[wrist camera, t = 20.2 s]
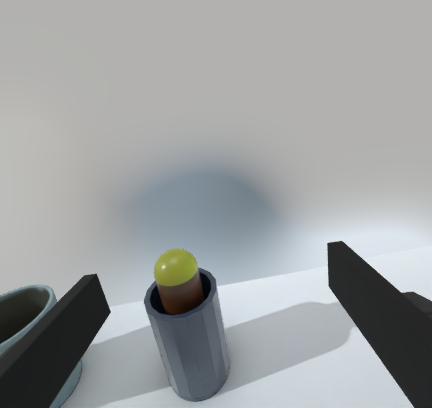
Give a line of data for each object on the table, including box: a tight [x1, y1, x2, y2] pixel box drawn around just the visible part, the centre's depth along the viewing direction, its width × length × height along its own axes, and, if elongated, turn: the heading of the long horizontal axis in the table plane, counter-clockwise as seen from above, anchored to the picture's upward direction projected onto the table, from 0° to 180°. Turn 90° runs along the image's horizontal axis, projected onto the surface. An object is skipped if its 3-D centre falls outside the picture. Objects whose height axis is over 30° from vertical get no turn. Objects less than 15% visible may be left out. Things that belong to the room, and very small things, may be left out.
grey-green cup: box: [0, 285, 82, 408], centre depth 26 cm, size 10×10×12 cm
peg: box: [154, 249, 205, 315], centre depth 25 cm, size 4×4×16 cm
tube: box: [144, 268, 230, 401], centre depth 26 cm, size 8×8×12 cm
